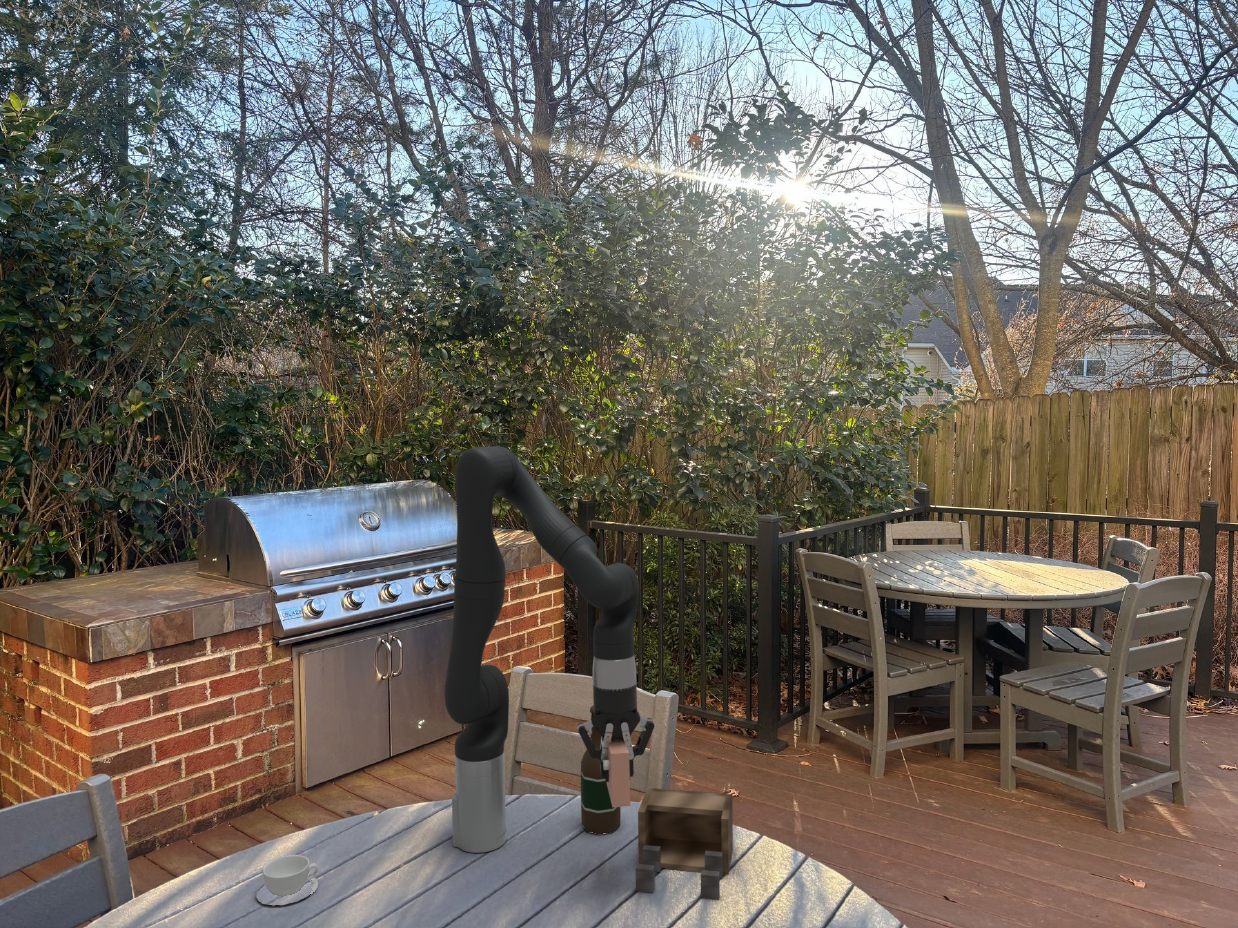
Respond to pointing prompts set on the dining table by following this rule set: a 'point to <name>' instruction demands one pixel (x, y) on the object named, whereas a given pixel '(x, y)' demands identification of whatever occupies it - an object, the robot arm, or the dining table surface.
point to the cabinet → (685, 837)
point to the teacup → (289, 875)
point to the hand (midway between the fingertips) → (617, 778)
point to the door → (618, 773)
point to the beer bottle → (596, 794)
